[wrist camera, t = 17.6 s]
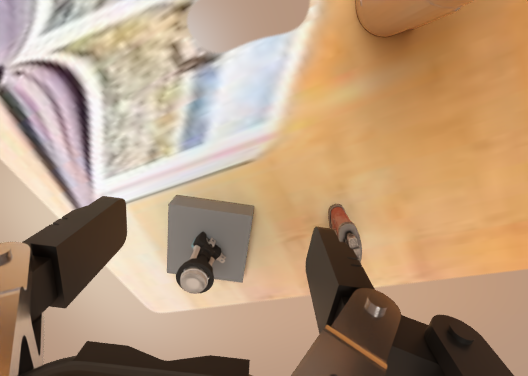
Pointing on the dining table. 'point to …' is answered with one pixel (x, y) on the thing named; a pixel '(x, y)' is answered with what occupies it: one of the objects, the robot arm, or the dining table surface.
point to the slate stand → (209, 233)
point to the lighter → (345, 229)
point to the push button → (199, 265)
